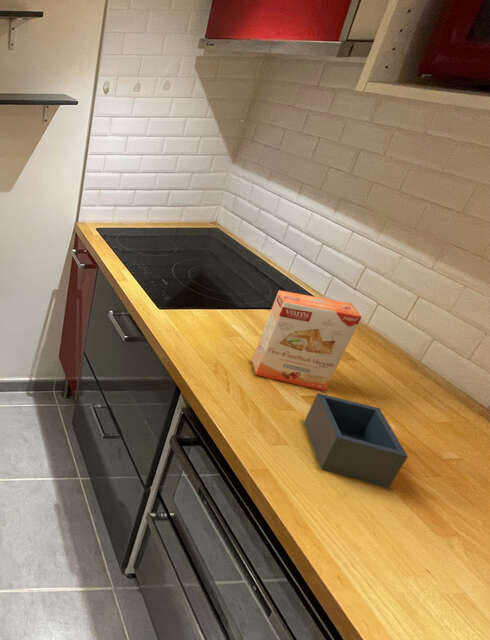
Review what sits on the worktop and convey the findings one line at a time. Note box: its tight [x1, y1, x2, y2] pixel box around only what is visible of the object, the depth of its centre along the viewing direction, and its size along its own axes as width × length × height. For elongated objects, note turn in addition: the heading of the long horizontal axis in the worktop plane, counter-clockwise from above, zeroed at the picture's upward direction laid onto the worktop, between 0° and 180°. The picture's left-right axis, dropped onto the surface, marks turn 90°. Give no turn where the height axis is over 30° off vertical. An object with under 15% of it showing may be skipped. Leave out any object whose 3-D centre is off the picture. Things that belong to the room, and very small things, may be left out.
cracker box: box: [251, 290, 362, 392], centre depth 101 cm, size 14×6×21 cm, turn 68°
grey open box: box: [303, 392, 409, 489], centre depth 84 cm, size 8×12×10 cm
